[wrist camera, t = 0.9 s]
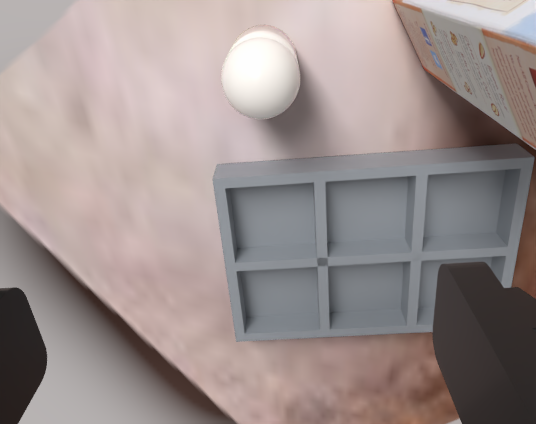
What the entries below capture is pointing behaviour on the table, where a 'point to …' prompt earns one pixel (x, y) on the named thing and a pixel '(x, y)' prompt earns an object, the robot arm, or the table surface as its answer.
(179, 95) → the table surface
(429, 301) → the egg tray
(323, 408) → the table surface
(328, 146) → the table surface
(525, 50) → the cracker box
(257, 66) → the egg
